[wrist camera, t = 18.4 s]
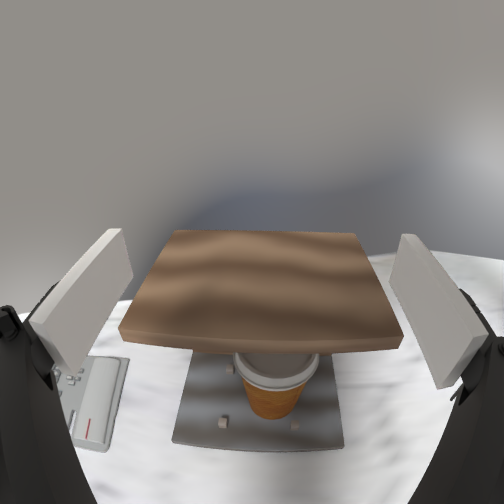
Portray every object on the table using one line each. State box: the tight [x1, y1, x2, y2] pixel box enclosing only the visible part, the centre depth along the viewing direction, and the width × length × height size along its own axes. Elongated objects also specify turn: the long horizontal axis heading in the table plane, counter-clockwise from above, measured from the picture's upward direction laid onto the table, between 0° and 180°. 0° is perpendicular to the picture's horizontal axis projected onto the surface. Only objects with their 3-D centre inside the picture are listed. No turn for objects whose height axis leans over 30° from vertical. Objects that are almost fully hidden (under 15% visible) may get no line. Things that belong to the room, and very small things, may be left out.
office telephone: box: [52, 356, 129, 453], centre depth 32 cm, size 23×3×20 cm
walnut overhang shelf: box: [118, 230, 404, 452], centre depth 32 cm, size 18×22×22 cm
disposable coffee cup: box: [233, 352, 319, 420], centre depth 32 cm, size 10×10×12 cm
